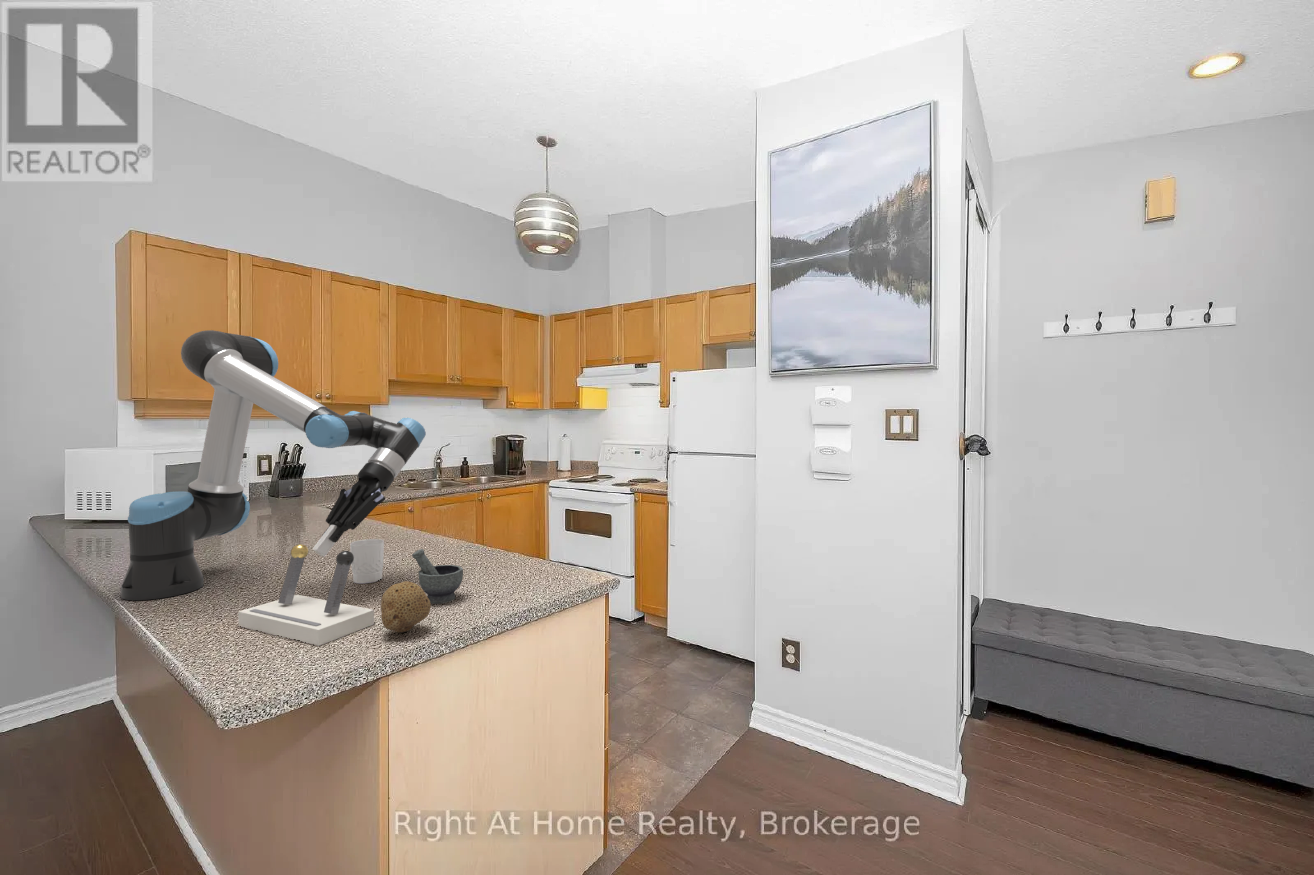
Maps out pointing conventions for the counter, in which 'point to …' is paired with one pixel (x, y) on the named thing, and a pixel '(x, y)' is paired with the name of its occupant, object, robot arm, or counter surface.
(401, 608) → the natural sponge
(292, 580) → the brass lever
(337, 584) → the black lever
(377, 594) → the counter surface
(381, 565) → the white cup
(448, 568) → the mortar and pestle
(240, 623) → the control panel
